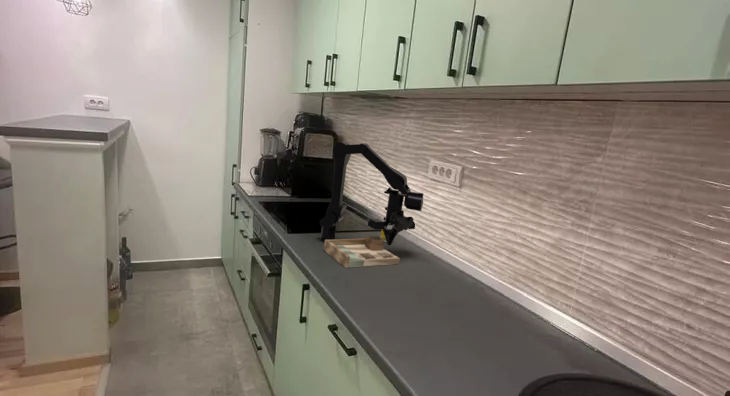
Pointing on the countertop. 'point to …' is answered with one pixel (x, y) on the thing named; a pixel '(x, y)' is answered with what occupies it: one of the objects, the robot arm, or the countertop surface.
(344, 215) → the robot arm
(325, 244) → the trap board
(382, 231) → the supplement bottle
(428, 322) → the countertop surface
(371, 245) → the walnut block
